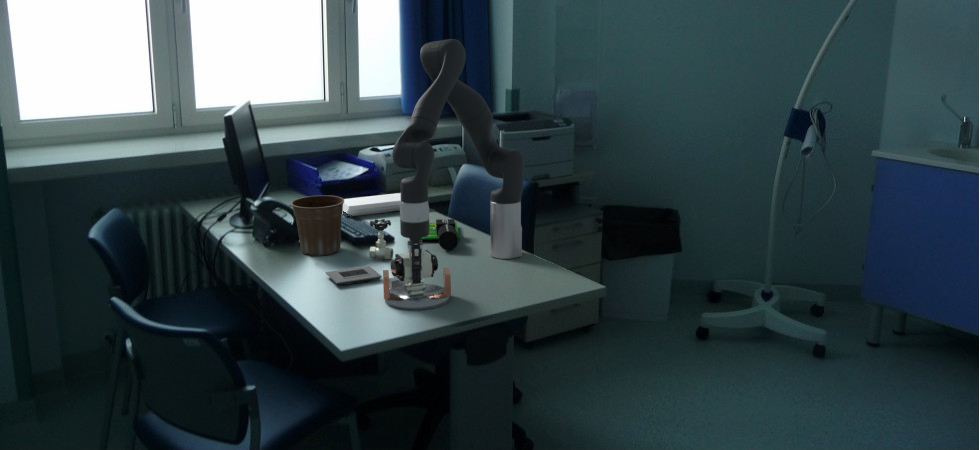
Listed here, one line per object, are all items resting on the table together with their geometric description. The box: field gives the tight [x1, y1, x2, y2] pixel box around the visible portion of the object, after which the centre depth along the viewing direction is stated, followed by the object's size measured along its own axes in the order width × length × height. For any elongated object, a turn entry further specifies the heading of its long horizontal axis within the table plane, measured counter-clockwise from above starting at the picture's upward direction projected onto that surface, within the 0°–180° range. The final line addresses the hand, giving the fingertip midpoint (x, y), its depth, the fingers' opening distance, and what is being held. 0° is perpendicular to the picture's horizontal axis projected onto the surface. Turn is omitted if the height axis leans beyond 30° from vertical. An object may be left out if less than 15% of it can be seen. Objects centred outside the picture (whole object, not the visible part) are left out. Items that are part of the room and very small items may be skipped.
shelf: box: [343, 192, 401, 217], centre depth 329 cm, size 12×30×5 cm, turn 117°
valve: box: [368, 218, 394, 261], centre depth 270 cm, size 7×7×12 cm
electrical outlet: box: [325, 265, 383, 286], centre depth 253 cm, size 13×10×2 cm
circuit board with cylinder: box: [420, 218, 461, 251], centre depth 292 cm, size 30×7×15 cm
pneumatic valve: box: [390, 249, 439, 296], centre depth 235 cm, size 6×12×12 cm, turn 116°
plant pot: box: [290, 194, 345, 257], centre depth 279 cm, size 16×16×16 cm
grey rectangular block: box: [389, 276, 406, 290], centre depth 247 cm, size 5×2×2 cm, turn 129°
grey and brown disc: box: [382, 267, 452, 312], centre depth 236 cm, size 18×17×8 cm
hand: (416, 279), depth 236 cm, fingers closed on pneumatic valve, 5 cm apart
